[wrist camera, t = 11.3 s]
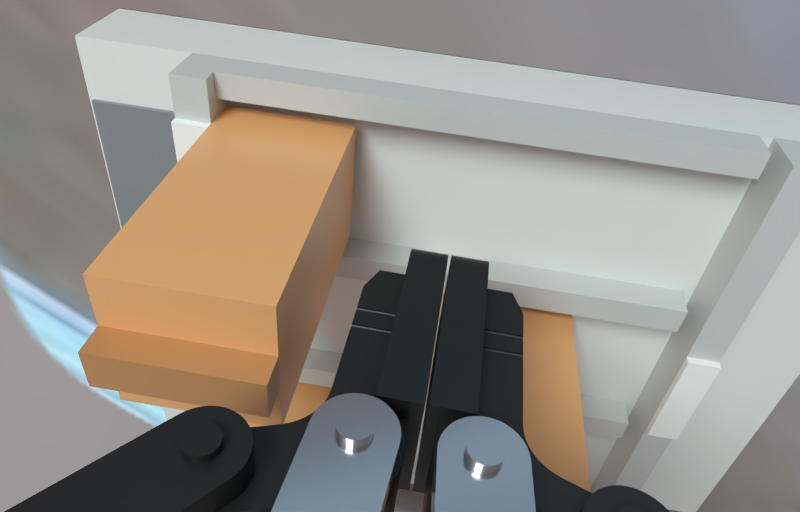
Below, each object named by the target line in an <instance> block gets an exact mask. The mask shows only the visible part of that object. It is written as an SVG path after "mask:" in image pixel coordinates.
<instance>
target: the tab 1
mask: <svg viewBox="0 0 800 512" xmlns="http://www.w3.org/2000/svg"><path fill="white" fill-rule="evenodd" d="M355 138H356V125H350V124H344V123H337V122H330V121H324V120H317V119H311V118H304V117H297V116H291V115H284V114H277V113H271V112H264V111H257V110H251V109H244V108H237V107H231V106H225V108H224V109H223V110H222V111H221V112H220V113H219V115H218V116H217V117H216V118H215V119H214V120H213V122H212V123H211V124H210V125H209V126H208V128H207V129H206V130H205V131H204V132H203V133H202V135H201V136H200V137H199V138H198V139H197V140H196V142H195V143H194V144H193V145H192V146H191V147H190V149H189V150H188V151H187V152H186V153H185V154H184V156H183V157H182V158H181V159H180V160H179V162H178V163H177V164H176V165H175V166H174V167H173V169H172V170H171V171H170V172H169V173H168V174H167V176H166V177H165V178H164V179H163V180H162V181H161V183H160V184H159V185H158V186H157V187H156V189H155V190H154V191H153V192H152V193H151V194H150V196H149V197H148V198H147V199H146V200H145V201H144V203H143V204H142V205H141V206H140V207H139V209H138V210H137V211H136V212H135V213H134V214H133V216H132V217H131V218H130V219H129V220H128V221H127V223H126V224H125V225H124V226H123V227H122V228H121V230H120V231H119V232H118V233H117V234H116V236H115V237H114V238H113V239H112V240H111V241H110V243H109V244H108V245H107V246H106V247H105V248H104V250H103V251H102V252H101V253H100V254H99V255H98V257H97V258H96V259H95V260H94V261H93V263H92V264H91V265H90V266H89V267H88V268H87V270H86V271H85V272H84V273H83V277H84V280H85V284H86V287H87V290H88V294H89V297H90V300H91V303H92V307H93V310H94V313H95V317H96V320H97V323H98V326H97V328H96V329H95V330H94V332H93V333H92V334H91V336H90V337H89V338H88V340H87V341H86V343H85V344H84V345H83V347H82V348H81V349H80V351H79V352H78V354H79V357H80V360H81V363H82V365H83V368H84V371H85V374H86V377H87V380H88V383H89V386H93V387H99V388H104V389H110V390H116V391H118V392H119V395H120V399H122V400H128V401H133V402H139V403H144V404H150V405H156V406H161V407H167V408H172V409H178V410H183V411H187V410H189V409H193V408H196V407H201V406H221V407H225V408H228V409H231V410H233V411H235V412H237V413H238V414H240V415H241V416H242V417H243V418H244V419H245V420H246V421H247V422H250V423H256V424H262V425H267V426H268V425H277V424H284V421H285V418H286V415H287V412H288V410H289V407H290V404H291V401H292V398H293V395H294V393H295V390H296V387H297V384H298V381H299V378H300V375H301V373H302V370H303V367H304V364H305V361H306V358H307V356H308V353H309V350H310V347H311V344H312V341H313V338H314V336H315V333H316V330H317V327H318V324H319V321H320V319H321V316H322V313H323V310H324V307H325V304H326V301H327V299H328V296H329V293H330V290H331V287H332V284H333V282H334V279H335V276H336V273H337V270H338V267H339V265H340V262H341V259H342V256H343V253H344V250H345V247H346V245H347V242H348V239H349V236H350V233H351V218H352V198H353V178H354V158H355Z"/></svg>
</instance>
